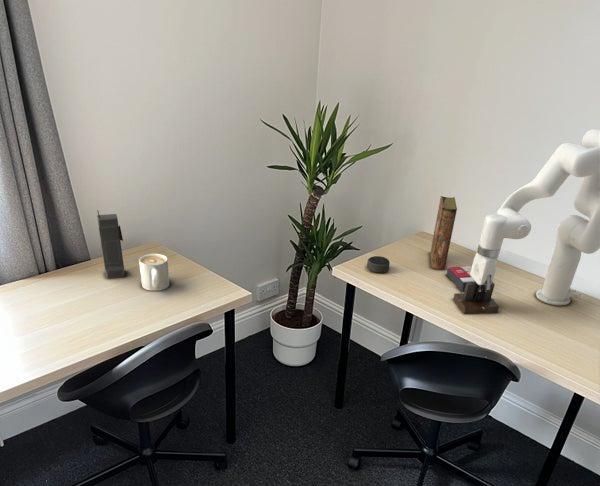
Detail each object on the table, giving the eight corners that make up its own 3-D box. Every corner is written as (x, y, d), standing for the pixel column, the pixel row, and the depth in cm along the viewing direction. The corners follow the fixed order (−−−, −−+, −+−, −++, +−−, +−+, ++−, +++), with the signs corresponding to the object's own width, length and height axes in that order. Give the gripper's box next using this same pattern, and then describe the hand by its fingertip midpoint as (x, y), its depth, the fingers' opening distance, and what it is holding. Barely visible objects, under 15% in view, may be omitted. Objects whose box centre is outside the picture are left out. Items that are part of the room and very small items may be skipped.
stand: (485, 296, 231) (487, 290, 229) (501, 314, 220) (502, 308, 218) (450, 297, 228) (451, 291, 227) (463, 315, 217) (465, 309, 216)
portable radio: (126, 270, 234) (118, 205, 218) (128, 276, 229) (119, 211, 214) (105, 271, 231) (95, 207, 216) (106, 278, 227) (96, 213, 212)
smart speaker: (362, 269, 245) (363, 259, 243) (375, 262, 251) (376, 253, 248) (380, 276, 241) (381, 266, 238) (392, 269, 246) (394, 260, 244)
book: (444, 270, 248) (457, 210, 233) (431, 269, 248) (442, 208, 233) (443, 254, 261) (454, 196, 246) (430, 253, 261) (441, 195, 246)
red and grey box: (472, 265, 244) (490, 279, 232) (470, 275, 247) (487, 290, 235) (447, 266, 242) (463, 281, 230) (445, 276, 245) (461, 291, 233)
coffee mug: (144, 278, 229) (141, 253, 223) (171, 279, 229) (168, 254, 223) (138, 294, 218) (135, 268, 212) (166, 295, 219) (163, 269, 213)
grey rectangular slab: (464, 301, 221) (468, 284, 217) (462, 298, 223) (466, 281, 218) (490, 300, 222) (494, 283, 218) (488, 298, 224) (492, 281, 220)
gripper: (469, 241, 217) (459, 288, 228) (487, 260, 204) (475, 309, 215) (489, 241, 218) (478, 288, 229) (508, 260, 205) (495, 308, 216)
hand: (476, 297), depth 222 cm, fingers open, 3 cm apart
